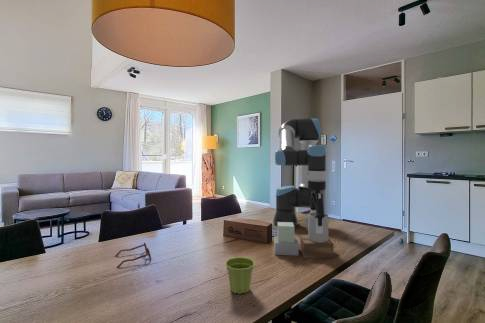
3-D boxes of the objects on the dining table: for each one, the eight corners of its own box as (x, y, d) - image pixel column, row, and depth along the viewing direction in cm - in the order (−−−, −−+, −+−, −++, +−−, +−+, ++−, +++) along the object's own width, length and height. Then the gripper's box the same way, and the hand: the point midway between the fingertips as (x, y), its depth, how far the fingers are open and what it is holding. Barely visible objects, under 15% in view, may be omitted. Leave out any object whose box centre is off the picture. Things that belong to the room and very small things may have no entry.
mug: (332, 240, 112) (332, 215, 112) (317, 244, 108) (318, 217, 108) (313, 233, 122) (313, 210, 122) (298, 236, 118) (298, 212, 118)
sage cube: (277, 237, 121) (277, 222, 120) (292, 237, 120) (292, 222, 120) (278, 242, 114) (278, 226, 113) (294, 242, 113) (294, 226, 113)
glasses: (151, 262, 106) (151, 249, 106) (116, 269, 100) (116, 256, 100) (146, 251, 118) (146, 240, 118) (114, 257, 111) (114, 245, 111)
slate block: (274, 246, 122) (274, 235, 122) (295, 247, 121) (295, 236, 121) (274, 254, 112) (274, 243, 112) (298, 255, 111) (298, 243, 111)
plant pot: (232, 280, 90) (232, 255, 90) (258, 285, 86) (258, 259, 86) (220, 293, 81) (220, 266, 81) (248, 300, 77) (248, 271, 77)
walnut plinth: (300, 247, 121) (300, 234, 121) (326, 248, 120) (326, 235, 120) (303, 257, 109) (303, 243, 109) (333, 258, 108) (333, 244, 108)
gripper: (303, 177, 126) (303, 220, 127) (312, 183, 102) (312, 237, 103) (319, 177, 126) (319, 220, 127) (332, 184, 101) (332, 238, 102)
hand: (316, 228), depth 115 cm, fingers open, 13 cm apart
